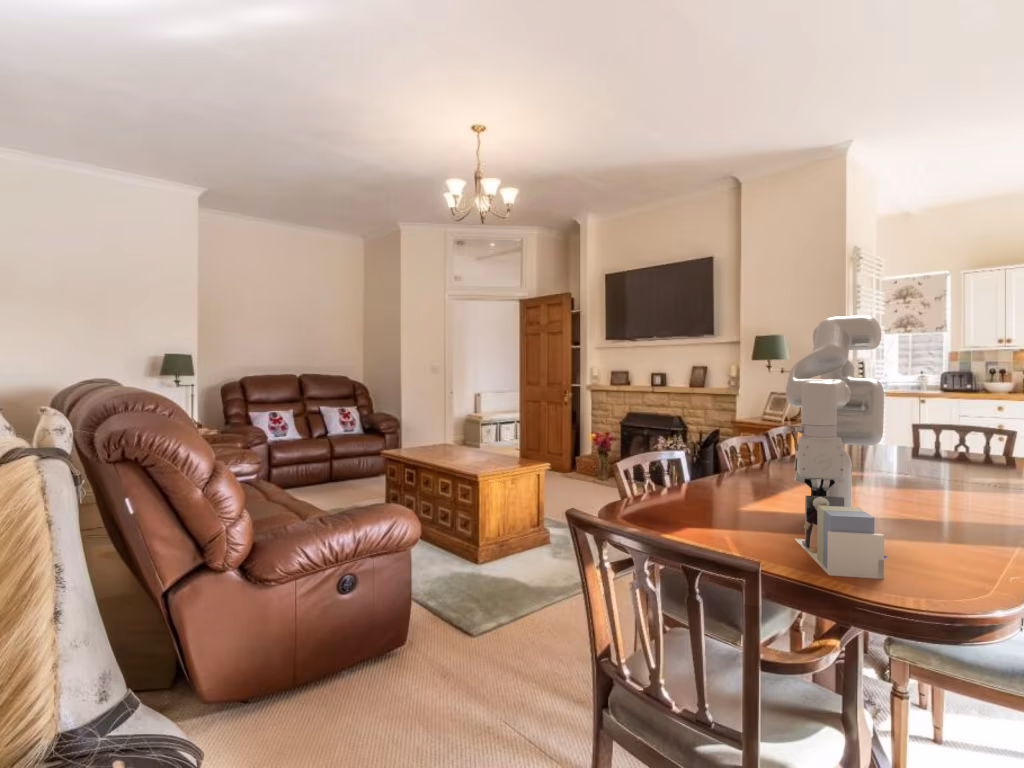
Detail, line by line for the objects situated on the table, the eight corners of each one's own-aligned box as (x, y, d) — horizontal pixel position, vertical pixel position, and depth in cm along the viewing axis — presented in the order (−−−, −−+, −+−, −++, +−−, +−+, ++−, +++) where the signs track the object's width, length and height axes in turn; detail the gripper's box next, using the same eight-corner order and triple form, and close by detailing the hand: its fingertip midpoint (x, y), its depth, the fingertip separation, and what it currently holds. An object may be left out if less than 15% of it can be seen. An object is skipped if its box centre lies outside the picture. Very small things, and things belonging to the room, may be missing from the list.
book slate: (823, 566, 116) (824, 510, 116) (865, 568, 114) (866, 512, 114) (830, 573, 112) (831, 515, 112) (873, 575, 110) (874, 517, 110)
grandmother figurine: (814, 555, 122) (815, 500, 121) (800, 549, 126) (801, 496, 125) (840, 551, 125) (841, 497, 124) (825, 545, 128) (827, 493, 127)
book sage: (817, 559, 120) (817, 505, 120) (857, 561, 118) (857, 507, 118) (823, 565, 116) (823, 510, 116) (864, 568, 115) (865, 512, 114)
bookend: (802, 543, 130) (802, 493, 130) (838, 544, 129) (839, 494, 128) (806, 547, 127) (806, 496, 127) (843, 549, 126) (844, 497, 125)
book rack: (794, 543, 134) (794, 503, 134) (838, 545, 132) (839, 505, 132) (829, 580, 111) (829, 532, 111) (883, 584, 109) (884, 535, 109)
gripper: (789, 433, 130) (789, 508, 131) (859, 433, 127) (858, 511, 128) (781, 429, 137) (781, 500, 138) (847, 429, 134) (846, 502, 135)
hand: (818, 505), depth 133 cm, fingers closed
